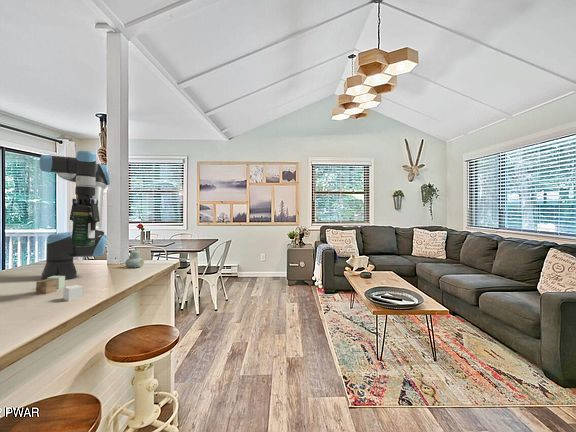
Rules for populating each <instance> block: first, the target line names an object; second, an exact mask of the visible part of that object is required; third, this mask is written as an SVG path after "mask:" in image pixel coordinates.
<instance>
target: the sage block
mask: <svg viewBox="0 0 576 432" xmlns="http://www.w3.org/2000/svg"><path fill="white" fill-rule="evenodd" d="M47 279H49V280H57V287H56V290H60V289H61V288H64V287H66V286H65V285H66V279H65V276H51V277H48V278H47Z"/></svg>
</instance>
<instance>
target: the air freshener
mask: <svg viewBox="0 0 576 432" xmlns="http://www.w3.org/2000/svg"><path fill="white" fill-rule="evenodd" d="M124 264H125V266H126V267H128V268H130V269H137V268H136V267H140V268H141V267H143V266H144V264H145V260H144V259H143V258H142V257H141V251H139V250H133V251H131V250H130V252H129V258H127V259H126V260H125V262H124Z"/></svg>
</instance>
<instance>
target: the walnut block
mask: <svg viewBox="0 0 576 432" xmlns="http://www.w3.org/2000/svg"><path fill="white" fill-rule="evenodd" d="M35 284H36V286H35V294H40V295H41V294H42V295H48V294H52V293H55V292H57V289H56V287H57V280H49V279H46V280H44V279H41V280H38V281H36V283H35Z"/></svg>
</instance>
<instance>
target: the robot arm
mask: <svg viewBox="0 0 576 432" xmlns="http://www.w3.org/2000/svg"><path fill="white" fill-rule="evenodd" d="M38 164H39V169H40V171H41V172H45V173H55V174H56V175H57V176H58V178H60V179H63V180H65V181H68V182H72V183H75V185H76V186H75V190H74V191H75V192H74V193H75V195H76V196H77V197H76V198H72V200H71V201H72V205H71V210H70V215H69V220H70V221H72V222H73V207H74V206H76V205H82V204H83V205H86V206H91V211H92V212H91V213H89V222H88V238H95V245H93V246H89V247H76V246H72V245H71V241H72V231H67V232H58V233H53V234H52V233H51V234H49V235H47V238H46V252H45V253H46V258H45V259H46V260H45V266H44V268H43V270H42V273H41V280H46V279H47V278H48V277H51V276H65V280H71V279H74V278H77V276H78V273H77V272H78V271H77V269H76V266H75V263H74V258H83V257H84V258H86V257H87V258H88V257H89V258H90V257H92V258H94V257H102V256H103V255H104V254H105V251H106V246H107V240H108V235H107V234H105V231H104V230H103V229H102V226H103V225H102V223H103V206H104V190H106V189H107V186H109V185H110V184H111V183H110V173H109V172H110V171H109V167H108V165H106V164H103V163H102V164H101V163H98V162H97V153H96V152H94V151H90V150H78V151H77V152H76V157H72V156H71V157H70V156H61V155H53V154H42V155H40V157H39V162H38Z"/></svg>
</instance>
